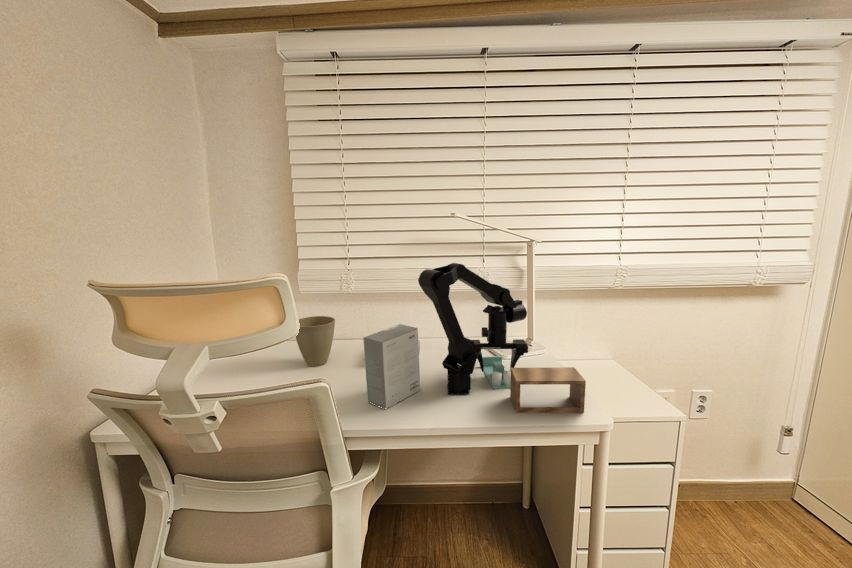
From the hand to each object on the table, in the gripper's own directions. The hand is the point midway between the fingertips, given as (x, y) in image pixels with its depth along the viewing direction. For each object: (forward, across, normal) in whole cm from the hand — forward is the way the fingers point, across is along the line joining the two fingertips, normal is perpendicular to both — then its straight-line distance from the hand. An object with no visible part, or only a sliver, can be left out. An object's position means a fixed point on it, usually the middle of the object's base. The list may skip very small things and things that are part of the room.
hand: (496, 371), depth 126 cm
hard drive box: (+2, +32, +13) cm, 35 cm away
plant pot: (+2, +64, -14) cm, 66 cm away
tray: (+3, 0, -1) cm, 3 cm away
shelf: (+2, -11, +18) cm, 21 cm away
